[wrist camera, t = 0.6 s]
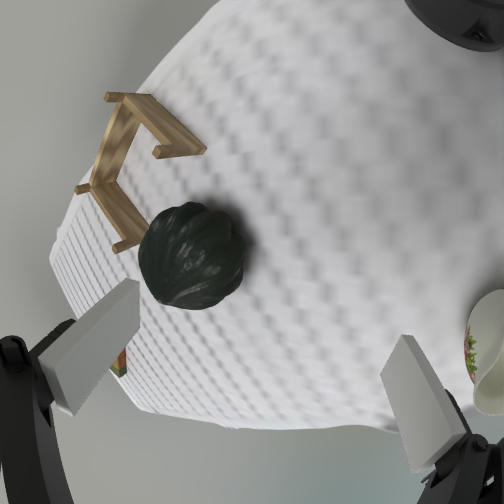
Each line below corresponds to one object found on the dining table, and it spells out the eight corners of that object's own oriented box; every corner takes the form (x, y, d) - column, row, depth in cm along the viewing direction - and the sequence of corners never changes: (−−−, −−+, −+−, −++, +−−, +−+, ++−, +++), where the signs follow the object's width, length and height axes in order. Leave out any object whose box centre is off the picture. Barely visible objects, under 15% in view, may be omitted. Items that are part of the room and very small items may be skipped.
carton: (126, 346, 72) (116, 353, 69) (128, 372, 80) (119, 379, 77) (109, 329, 75) (98, 335, 71) (112, 357, 83) (103, 363, 79)
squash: (148, 184, 38) (99, 277, 32) (238, 182, 31) (187, 306, 25) (193, 235, 49) (160, 313, 43) (271, 244, 43) (240, 338, 37)
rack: (149, 94, 39) (106, 92, 32) (207, 148, 37) (161, 151, 30) (111, 182, 50) (74, 190, 43) (153, 238, 49) (115, 254, 42)
